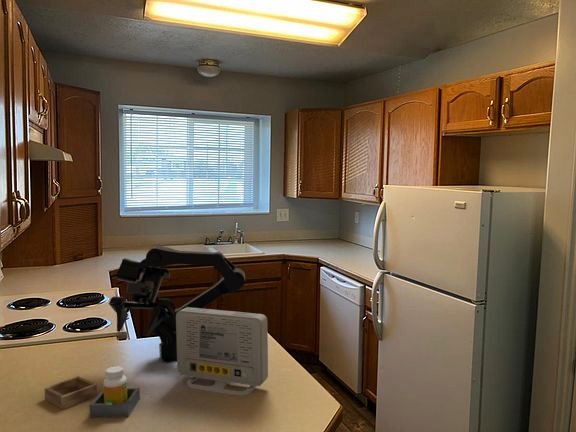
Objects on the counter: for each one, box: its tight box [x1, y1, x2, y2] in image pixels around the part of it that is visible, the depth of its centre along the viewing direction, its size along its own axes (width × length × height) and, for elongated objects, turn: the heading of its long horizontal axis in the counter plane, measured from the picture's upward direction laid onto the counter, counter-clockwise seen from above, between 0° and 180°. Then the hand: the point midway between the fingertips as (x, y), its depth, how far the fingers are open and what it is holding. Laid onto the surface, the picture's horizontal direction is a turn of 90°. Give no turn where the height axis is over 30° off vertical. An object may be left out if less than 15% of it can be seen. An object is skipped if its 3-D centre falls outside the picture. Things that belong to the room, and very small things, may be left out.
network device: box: [176, 307, 269, 396], centre depth 126 cm, size 26×9×20 cm, turn 71°
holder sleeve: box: [43, 375, 98, 410], centre depth 120 cm, size 9×9×3 cm
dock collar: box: [89, 387, 141, 419], centre depth 114 cm, size 9×9×4 cm
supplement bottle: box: [102, 365, 128, 403], centre depth 114 cm, size 5×5×10 cm
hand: (133, 332), depth 133 cm, fingers open, 9 cm apart
